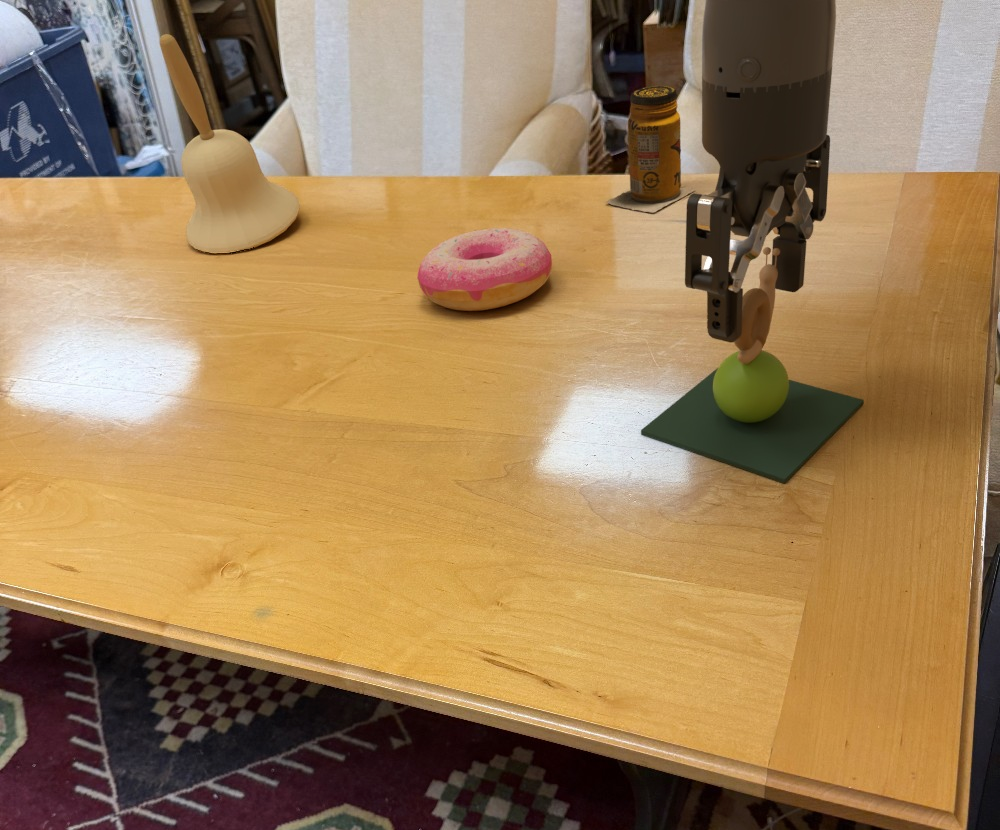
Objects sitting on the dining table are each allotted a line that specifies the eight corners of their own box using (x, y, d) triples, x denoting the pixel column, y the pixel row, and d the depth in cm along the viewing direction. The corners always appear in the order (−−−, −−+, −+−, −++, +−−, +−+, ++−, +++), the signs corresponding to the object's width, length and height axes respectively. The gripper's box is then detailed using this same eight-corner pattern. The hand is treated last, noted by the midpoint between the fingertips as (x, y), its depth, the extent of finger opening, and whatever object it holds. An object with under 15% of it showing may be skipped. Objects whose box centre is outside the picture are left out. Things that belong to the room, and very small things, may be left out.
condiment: (696, 190, 110) (696, 85, 103) (653, 214, 106) (650, 105, 99) (647, 182, 115) (644, 81, 107) (604, 205, 110) (598, 100, 103)
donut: (577, 273, 95) (573, 226, 92) (507, 329, 87) (500, 280, 84) (474, 258, 102) (467, 215, 99) (399, 309, 94) (389, 263, 91)
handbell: (320, 197, 123) (251, 0, 104) (279, 263, 113) (195, 58, 95) (220, 202, 127) (137, 13, 109) (172, 266, 117) (72, 70, 99)
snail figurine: (800, 398, 70) (811, 249, 63) (772, 442, 66) (781, 288, 59) (732, 387, 73) (735, 242, 65) (701, 428, 68) (701, 279, 61)
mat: (724, 366, 76) (724, 362, 76) (863, 404, 69) (864, 399, 69) (640, 434, 70) (640, 429, 69) (784, 483, 62) (785, 479, 62)
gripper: (769, 35, 60) (760, 265, 70) (645, 93, 53) (653, 343, 62) (880, 37, 56) (854, 283, 66) (762, 102, 48) (752, 370, 58)
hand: (756, 312), depth 64 cm, fingers open, 8 cm apart
